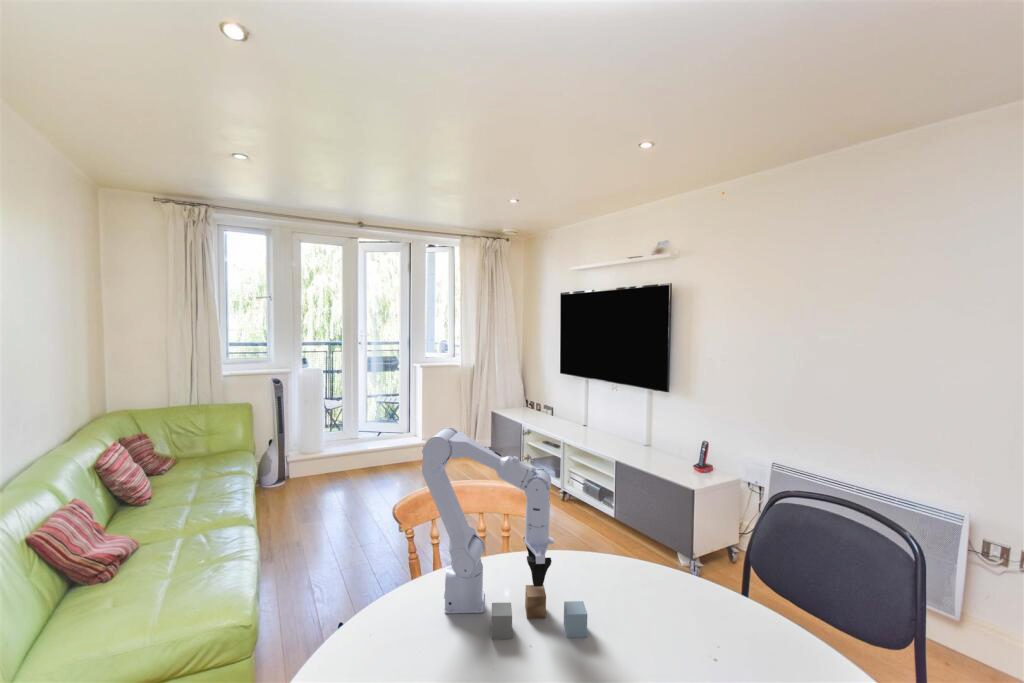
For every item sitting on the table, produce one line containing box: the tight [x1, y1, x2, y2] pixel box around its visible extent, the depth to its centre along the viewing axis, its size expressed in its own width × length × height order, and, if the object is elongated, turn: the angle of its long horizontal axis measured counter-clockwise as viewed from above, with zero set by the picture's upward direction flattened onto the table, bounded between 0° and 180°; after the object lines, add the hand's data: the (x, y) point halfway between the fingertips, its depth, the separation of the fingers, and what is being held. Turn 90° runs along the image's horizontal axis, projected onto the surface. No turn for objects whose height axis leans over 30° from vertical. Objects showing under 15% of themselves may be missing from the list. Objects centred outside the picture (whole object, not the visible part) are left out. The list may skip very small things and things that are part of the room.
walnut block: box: [524, 584, 547, 620], centre depth 110 cm, size 4×4×6 cm
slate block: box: [563, 600, 588, 639], centre depth 104 cm, size 4×4×6 cm
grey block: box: [490, 602, 513, 640], centre depth 103 cm, size 4×4×6 cm
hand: (536, 575), depth 109 cm, fingers open, 7 cm apart
